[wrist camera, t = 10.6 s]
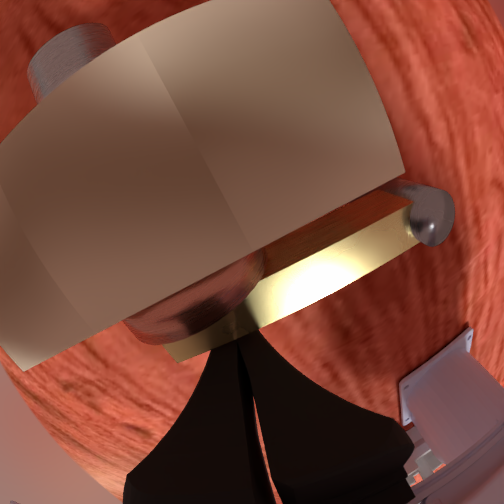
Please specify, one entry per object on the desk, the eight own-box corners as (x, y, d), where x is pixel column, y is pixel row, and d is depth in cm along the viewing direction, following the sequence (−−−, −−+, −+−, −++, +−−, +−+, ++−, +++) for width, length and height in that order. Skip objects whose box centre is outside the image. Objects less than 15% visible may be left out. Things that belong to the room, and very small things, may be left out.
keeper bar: (185, 298, 12) (180, 376, 7) (163, 264, 11) (144, 334, 7) (384, 201, 12) (456, 232, 7) (374, 164, 11) (451, 181, 7)
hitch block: (317, 157, 10) (405, 172, 5) (75, 291, 11) (23, 371, 6) (263, 47, 8) (313, -23, 3) (19, 200, 9) (-63, 241, 4)
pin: (252, 227, 10) (288, 288, 6) (146, 284, 11) (119, 367, 6) (151, 37, 7) (119, -30, 3) (47, 108, 7) (-33, 99, 3)
